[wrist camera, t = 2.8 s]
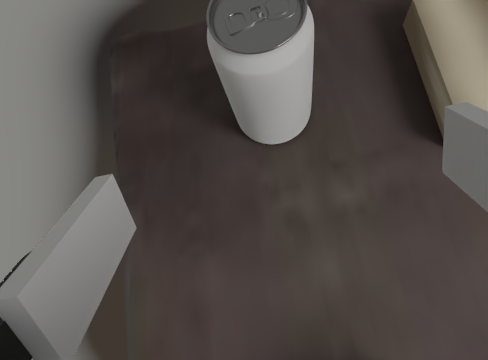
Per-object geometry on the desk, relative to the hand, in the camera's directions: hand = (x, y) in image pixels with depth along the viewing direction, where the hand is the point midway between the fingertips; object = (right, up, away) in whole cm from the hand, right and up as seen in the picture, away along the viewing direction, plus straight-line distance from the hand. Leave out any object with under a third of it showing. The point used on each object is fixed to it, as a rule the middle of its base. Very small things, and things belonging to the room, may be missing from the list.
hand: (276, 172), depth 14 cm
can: (+1, +6, +17) cm, 18 cm away
